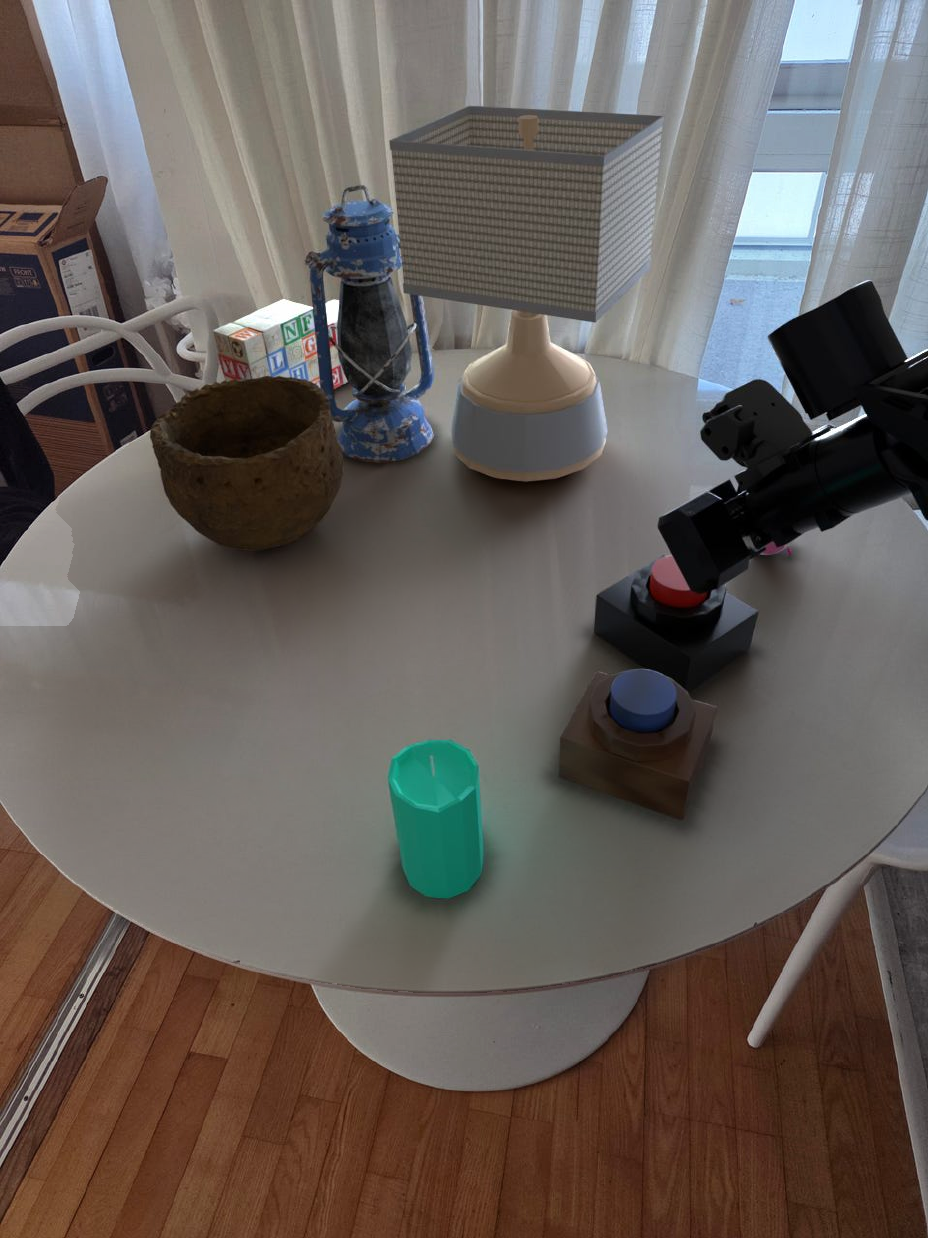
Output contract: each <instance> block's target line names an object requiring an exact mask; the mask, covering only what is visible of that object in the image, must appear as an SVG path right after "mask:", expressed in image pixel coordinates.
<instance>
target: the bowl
mask: <svg viewBox="0 0 928 1238" xmlns="http://www.w3.org/2000/svg"><path fill="white" fill-rule="evenodd" d="M330 404H331V403H330V402H329V401H328V398H327V396H326V394H325V392H324V391H323V390H322V389H321V388H320V387H319V386H318V385H316V384H314V383H312V382H310V381H307V380H306V379H299V378H294V377H287V378H286V377H281V376H277V377H272V376H264V377H261V378H255V379H248V380H239V379H233V380H231V381H229V382H228V381H225V380H223V381H221V382H218V381H215V382H213V383H212V384H208V383H206V384H204V385H203V386H202V387H200V388H199V387H197V388H195V389H194V390H192V391H191V392H187V393H186V394H184V395H183V396H182V397H181V399H180V401H177V402H175V403H174V404H173V405H172V406H171V407H170V408H169V409H168V410H166V411H164V412H163V413H162V414H161V415H159V416H158V419H155V420H154V422H153V423H152V425H151V427H150V431H149V432H150V433H149V434H150V435H149V439H150V441H151V443H152V446H151V447H152V449H153V453H154V456H155V458H156V461H157V465H158V468H159V471H160V478H161V482H162V486H163V487H162V488H163V490H164V494H165V496H166V498H167V499H168V501H169V504H170V505H171V507H172V508H173V509H174V511H175V512H176V514H178V515H179V517H181V518H182V519H183V520H184V521H185V522H187V524H189V525H190V526H191V528H193V529H194V530H195V531H196V532H197V533H198V534H199V535H201V536H203V537H205V538H206V539H208V540H210V541H211V542H213V543H215V544H217V545H218V546H221V547H225V548H230V549H233V550H238V551H239V550H240V551H262V550H267V549H270V548H275V547H279V546H283V545H287V544H290V543H292V542H294V541H295V540H297V539H299V538H301V537H302V536H303V535H304V534H306V533H307V532H308V531H310V530H311V529H313V528H314V527H315V526H316V525H318V523H320V522H321V521H322V520H323V519H324V518H325V517H326V515H328V513H329V512H330V510H331V508H332V505H333V503H334V502H335V499H336V498H337V495H338V494H339V491H340V487H341V484H342V481H343V477H344V463H345V462H344V456H343V451H342V450H341V448H340V446H339V443H338V438H337V436H336V433H337V432H336V429H335V424H334V421H333V420H332V416H331V411H330Z"/></svg>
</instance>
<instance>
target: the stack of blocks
mask: <svg viewBox="0 0 928 1238" xmlns="http://www.w3.org/2000/svg"><path fill="white" fill-rule="evenodd" d="M338 308H339V300H337V299H332V300H329V301H327V302H326V312H327V322H328V327H329V326H333V325H334V326H337V319H338ZM212 331H213V337H214V340H215V344H216V349H217V352H218V353H217V356H218V360H219V364H220V367H221V368H220V369H221V371H222V375H223V377H224V378H223V379H224V381H228V382H229V381H231V380H233V379H239V380H248V379H255V378H261V377H264V376H272V377H277V376H281V377H286V378H287V377H294V378H299V379H306V380H307V381H310V382H312V383H314V384H316V385H318V386H319V387H320V377H319V367H318V356H317V346H316V335H315V325H314V315H313V306H309V305H306V304H303V303H297V302H293V301H290V300H287V299H283V298H282V299H280V300H279V301H276V302H274V303H272V304H270V305H267V306H265V307H262V308H260V309H258V310H256V311H253V312H252V313H250V314H248V315H245V316H242V317H241V318H239V319H237V320H234V321H232V322H229V323H227V324H224V325H222V326H220V327H217V328H215V329H214V330H212ZM329 331H330V334H331V336H332V338H333V340H334V341H335V343H336V344H337V345H338V338H337V329H330V330H329ZM329 343H330V353H331V363H332V374H333V384H334V390H335V389H337V388H339V387H341V386H342V385H345V384H347V383H349V382H348V381H347V379H346V377H345V375H344V372H343V369H342V366H341V363H340V360H339V357H338V350H337V349H336V347H335V346H334V345H333V344H332V342H331V341H330V339H329ZM320 388H321V387H320Z"/></svg>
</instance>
